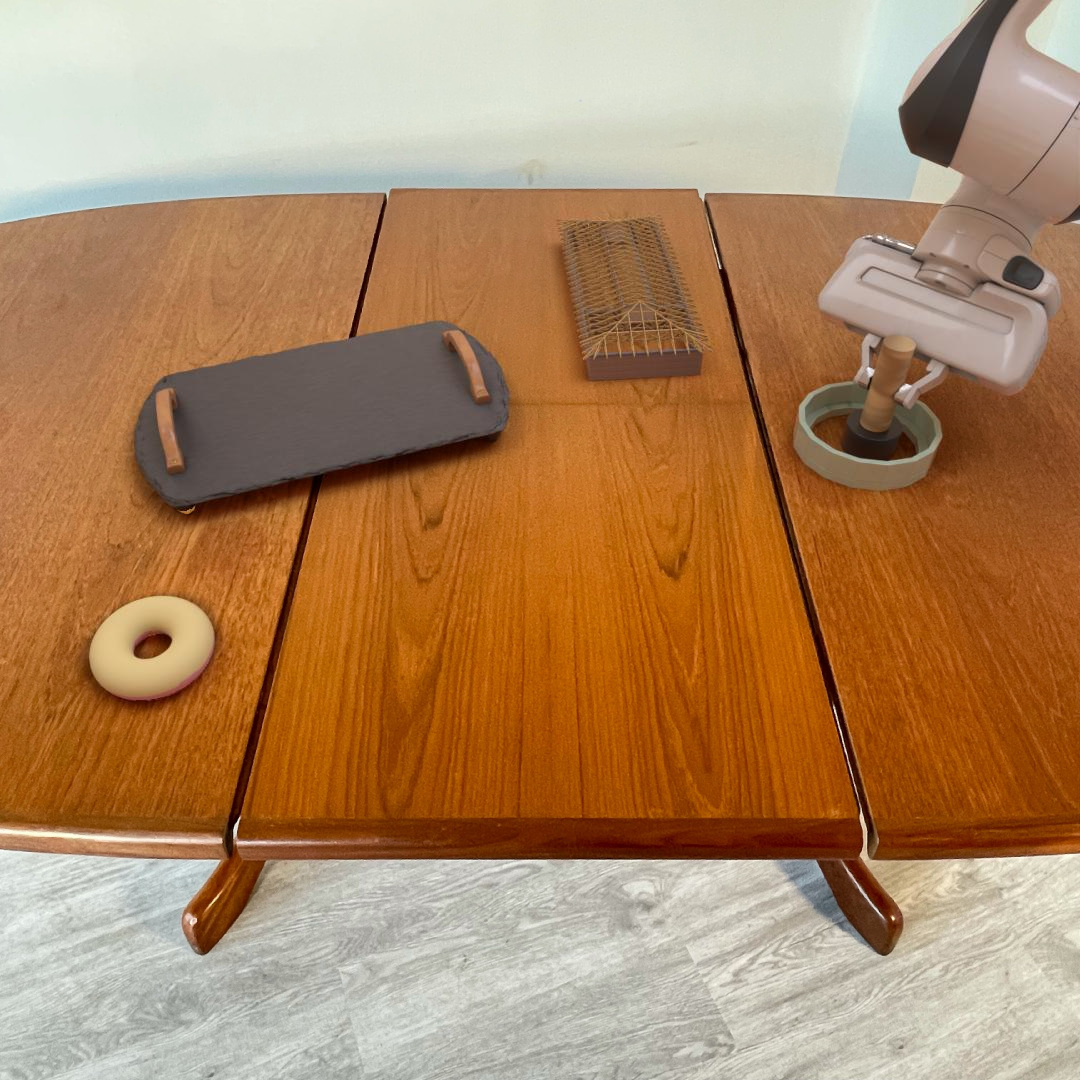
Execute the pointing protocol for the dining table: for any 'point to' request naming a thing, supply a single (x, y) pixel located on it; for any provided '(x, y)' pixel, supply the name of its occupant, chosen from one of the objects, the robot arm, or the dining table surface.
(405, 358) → the serving tray
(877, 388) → the wooden peg with base
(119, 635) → the donut
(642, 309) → the rafter model
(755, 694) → the dining table surface
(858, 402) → the pale green band ring
